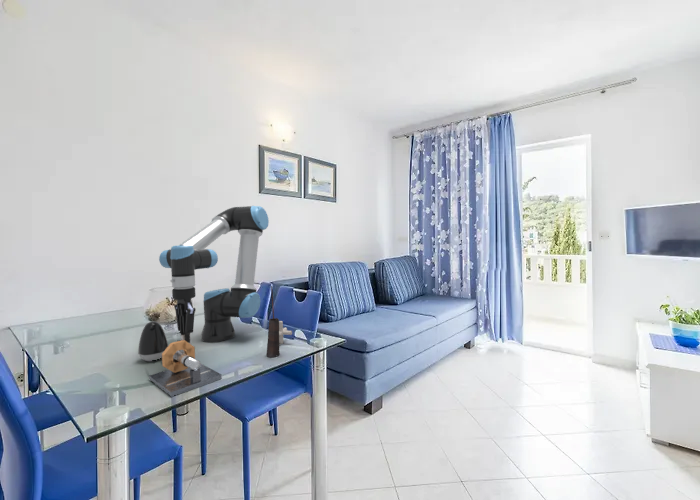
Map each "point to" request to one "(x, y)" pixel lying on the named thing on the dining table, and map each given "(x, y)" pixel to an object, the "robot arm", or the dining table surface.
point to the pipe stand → (185, 376)
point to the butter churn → (273, 335)
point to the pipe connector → (283, 332)
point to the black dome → (152, 342)
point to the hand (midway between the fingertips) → (186, 351)
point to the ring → (171, 350)
